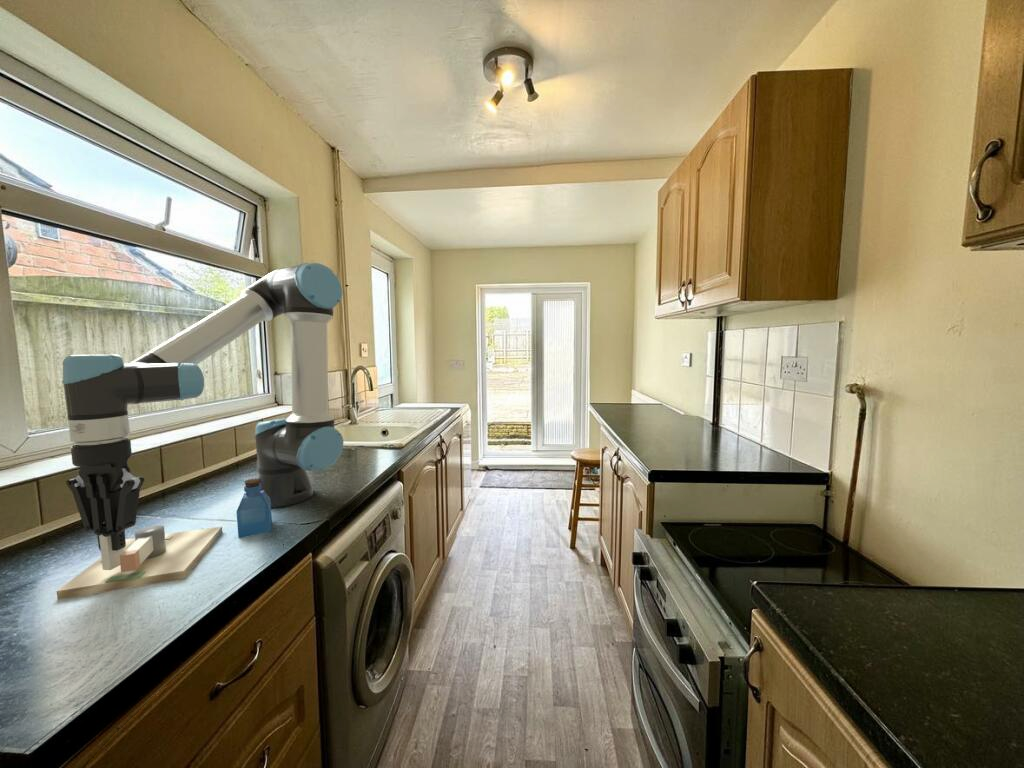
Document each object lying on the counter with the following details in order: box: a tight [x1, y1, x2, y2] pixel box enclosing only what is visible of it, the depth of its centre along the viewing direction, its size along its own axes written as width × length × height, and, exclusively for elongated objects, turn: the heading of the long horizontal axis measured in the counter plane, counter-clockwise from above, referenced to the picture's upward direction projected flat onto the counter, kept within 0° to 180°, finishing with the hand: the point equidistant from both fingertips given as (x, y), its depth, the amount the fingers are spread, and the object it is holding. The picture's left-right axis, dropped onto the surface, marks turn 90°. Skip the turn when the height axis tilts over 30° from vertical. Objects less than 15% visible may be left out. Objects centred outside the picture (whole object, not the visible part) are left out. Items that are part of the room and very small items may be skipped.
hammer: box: [119, 524, 166, 573], centre depth 77 cm, size 12×4×5 cm, turn 24°
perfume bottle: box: [236, 477, 273, 539], centre depth 94 cm, size 6×6×12 cm
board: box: [56, 526, 223, 600], centre depth 81 cm, size 18×20×2 cm
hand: (114, 565), depth 74 cm, fingers closed
